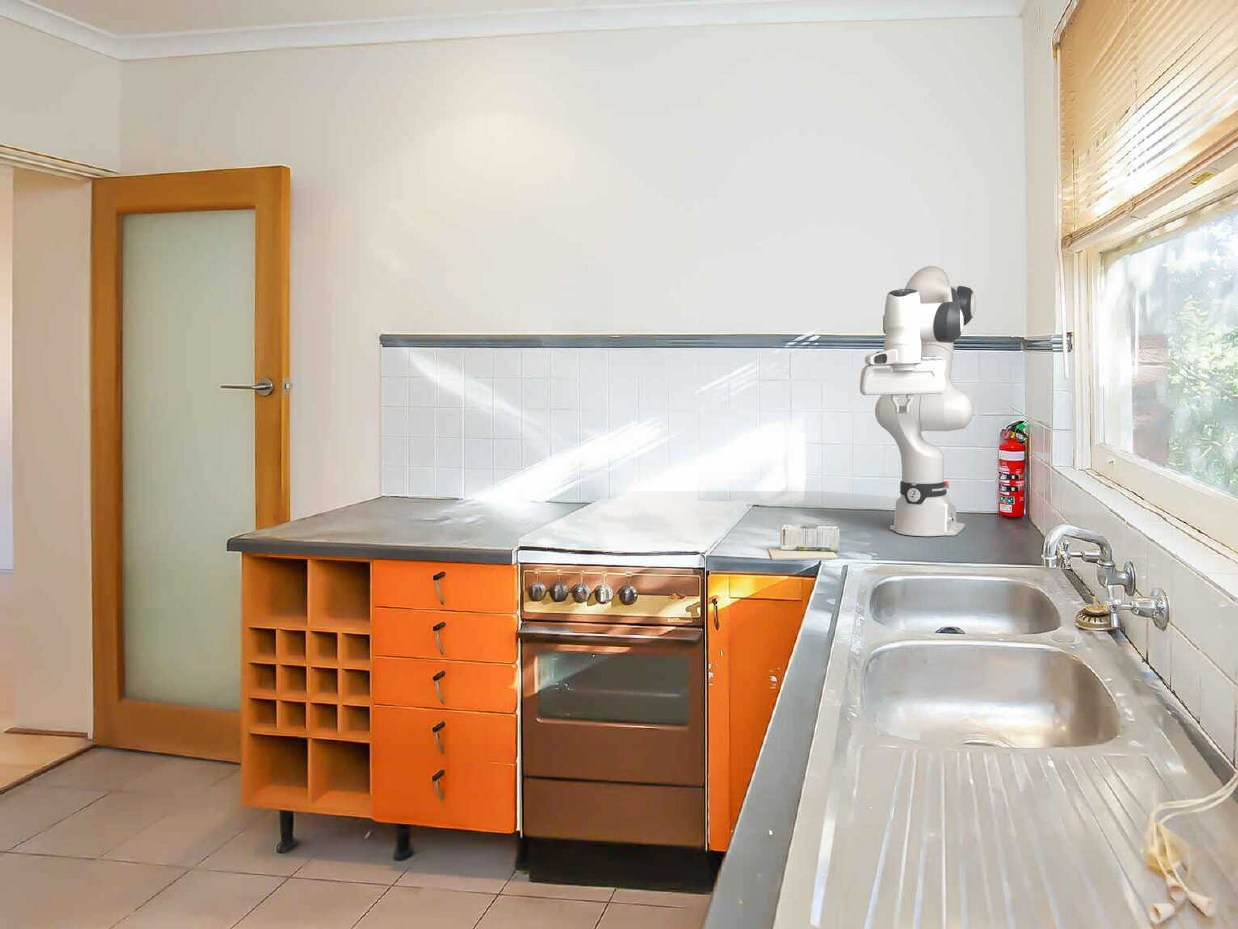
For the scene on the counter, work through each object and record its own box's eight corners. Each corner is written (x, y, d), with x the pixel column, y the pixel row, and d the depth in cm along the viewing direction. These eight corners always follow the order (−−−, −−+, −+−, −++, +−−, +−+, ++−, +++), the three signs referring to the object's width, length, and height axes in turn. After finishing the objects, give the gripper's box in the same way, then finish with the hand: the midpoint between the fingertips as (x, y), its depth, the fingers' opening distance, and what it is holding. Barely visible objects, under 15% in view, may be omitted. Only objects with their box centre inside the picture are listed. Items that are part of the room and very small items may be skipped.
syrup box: (839, 548, 272) (782, 547, 275) (839, 525, 271) (782, 524, 275) (838, 551, 266) (780, 550, 270) (838, 528, 266) (779, 527, 269)
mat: (830, 548, 274) (830, 546, 273) (838, 559, 260) (838, 557, 260) (767, 548, 274) (767, 547, 274) (772, 559, 261) (772, 558, 261)
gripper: (942, 355, 260) (942, 411, 262) (858, 357, 262) (858, 413, 263) (949, 355, 254) (948, 413, 256) (862, 357, 255) (862, 414, 257)
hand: (902, 413), depth 259 cm, fingers closed
